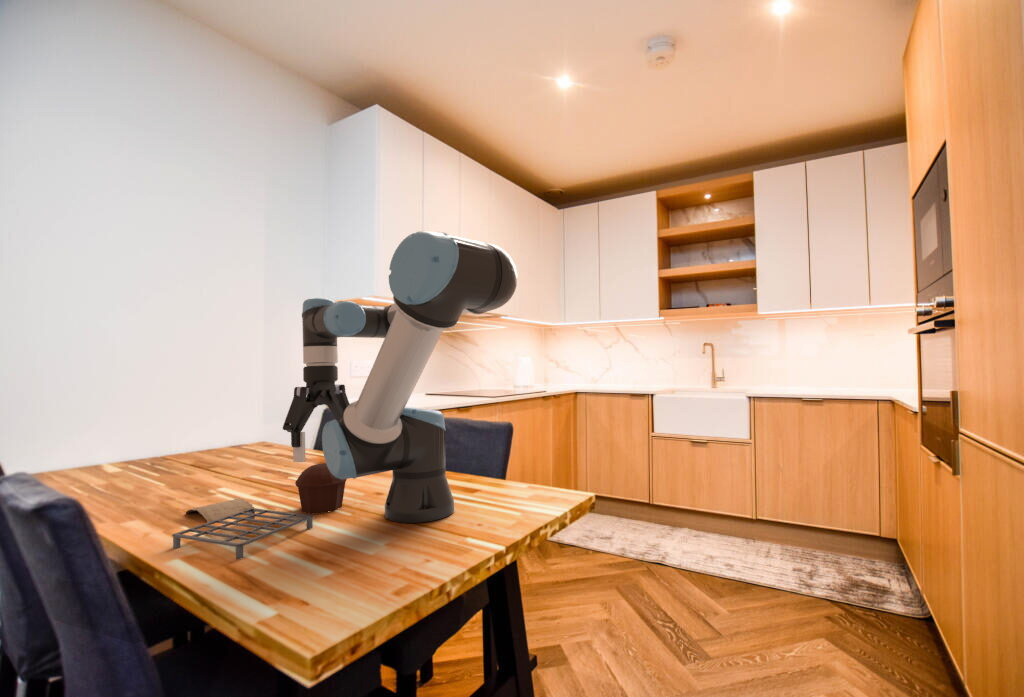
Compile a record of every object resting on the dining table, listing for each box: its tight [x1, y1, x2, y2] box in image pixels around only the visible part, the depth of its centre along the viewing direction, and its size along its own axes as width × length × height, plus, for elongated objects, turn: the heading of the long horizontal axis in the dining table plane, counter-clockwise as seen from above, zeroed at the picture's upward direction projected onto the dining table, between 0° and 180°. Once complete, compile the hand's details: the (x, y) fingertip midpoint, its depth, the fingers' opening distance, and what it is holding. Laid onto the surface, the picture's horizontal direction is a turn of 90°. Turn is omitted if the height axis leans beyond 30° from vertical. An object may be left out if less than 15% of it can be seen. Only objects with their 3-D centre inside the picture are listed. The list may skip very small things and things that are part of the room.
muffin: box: [295, 462, 348, 515], centre depth 113 cm, size 12×11×10 cm
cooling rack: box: [171, 507, 314, 560], centre depth 94 cm, size 17×17×2 cm
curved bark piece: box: [185, 497, 257, 523], centre depth 110 cm, size 14×10×3 cm
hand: (321, 456), depth 113 cm, fingers open, 13 cm apart
